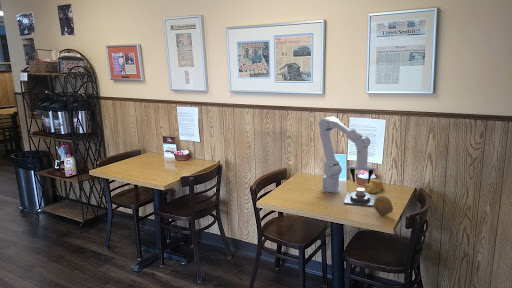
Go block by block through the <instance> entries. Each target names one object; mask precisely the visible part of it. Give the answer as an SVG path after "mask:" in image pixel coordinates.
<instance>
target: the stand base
mask: <svg viewBox="0 0 512 288" xmlns="http://www.w3.org/2000/svg"><path fill="white" fill-rule="evenodd" d="M356 194H357V191H353V192H347V193H346V195H345V198H344V202H343V205H350V206H360V207H369V208H374V201H375V200H376V199H377V195H376V194H368V193H366V192H365V193H364V197H361V196H359V197H356Z"/></svg>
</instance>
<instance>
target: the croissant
mask: <svg viewBox="0 0 512 288" xmlns="http://www.w3.org/2000/svg"><path fill="white" fill-rule="evenodd" d="M364 184H365V186H364V188H365V193H368V194H370V195H372V194H377V193H380V192H382V189H383V186H384V185H383V182H382V180H381V179H379V178H370V181H369V184H368V180H367V181H365V183H364Z"/></svg>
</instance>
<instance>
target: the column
mask: <svg viewBox="0 0 512 288" xmlns="http://www.w3.org/2000/svg"><path fill="white" fill-rule="evenodd" d="M356 192H357V194H356V197H359V196H361V197H364V193H366V188H365V187H364V188H363V187H357V188H356Z"/></svg>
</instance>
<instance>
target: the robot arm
mask: <svg viewBox="0 0 512 288" xmlns="http://www.w3.org/2000/svg"><path fill="white" fill-rule="evenodd" d="M318 127H319V137H320V140H321V145H322V149H323V153H324V157H325V163H324V164H323V168H324V169H323V172H324V175H322V189H321V190H322V192H324V193H337V194H338V193H339V192H340V190H341V188H340V187H339V185H340V184H339V183H340V176H341V175H340V174H341V173H342V171H343V169H342V166H341V164H340V162H339V160H337V159H336V157H335V151H334V148H333V144H332V143H333V142H332V139H331V131H332V130H334V129H336V130H338V131H340V132H341V133H343V134H345V135H346V138H347V139H348V140H349V141H351V142H352V143H353V144H354V145H355V148H356V164H353V165H348V166H347V170H349V172H350V175H351V177H352V183H356V176H355V175H356V170H357V171H367V172H368V175H367V181H368V184H369V181H370V179H372V176H373V174H374V172H376V169H377V167H376V166H371V165H368V160H369V159H368V157H369V155H368V154H369V153H368V152H369V146H370V145H371V140H370V138H369V137H368V136H365V135H363V134H362V133H359V132H358V131H357V129H354V128H351V129H350V128H349V127H347V126H346V125H345V124H343V123H342V122H341V121H340V120H339V118H337V117H336V116H335V115H333V116H329V117H323V118H320V120H319V122H318Z"/></svg>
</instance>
